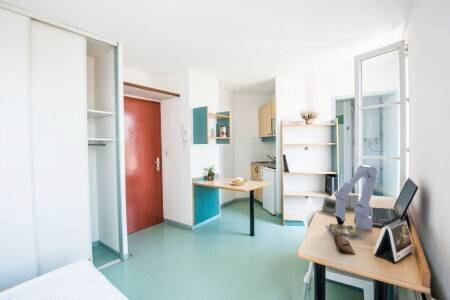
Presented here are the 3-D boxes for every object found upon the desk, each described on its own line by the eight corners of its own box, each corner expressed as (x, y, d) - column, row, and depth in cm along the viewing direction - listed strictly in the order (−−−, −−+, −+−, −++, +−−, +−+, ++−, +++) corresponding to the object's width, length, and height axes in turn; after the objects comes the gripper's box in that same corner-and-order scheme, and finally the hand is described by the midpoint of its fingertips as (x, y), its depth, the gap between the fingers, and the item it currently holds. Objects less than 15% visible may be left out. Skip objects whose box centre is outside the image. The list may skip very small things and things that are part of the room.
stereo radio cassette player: (358, 209, 194) (359, 187, 193) (350, 210, 193) (350, 187, 192) (342, 202, 215) (343, 182, 214) (334, 203, 214) (335, 182, 213)
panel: (352, 230, 149) (352, 225, 148) (357, 236, 139) (357, 231, 139) (329, 228, 152) (329, 223, 152) (333, 234, 142) (333, 229, 142)
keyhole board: (352, 228, 153) (353, 223, 153) (363, 241, 134) (363, 235, 134) (324, 226, 157) (325, 221, 157) (331, 238, 139) (331, 232, 138)
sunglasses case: (357, 255, 118) (350, 244, 118) (344, 260, 120) (337, 249, 120) (348, 240, 135) (343, 230, 136) (337, 245, 137) (332, 235, 138)
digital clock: (320, 209, 194) (321, 197, 193) (328, 208, 197) (329, 196, 196) (336, 215, 178) (336, 203, 178) (344, 214, 182) (344, 201, 181)
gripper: (331, 204, 159) (331, 223, 159) (337, 211, 145) (336, 231, 145) (342, 205, 157) (342, 223, 158) (349, 211, 143) (348, 232, 144)
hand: (340, 227), depth 152 cm, fingers closed
